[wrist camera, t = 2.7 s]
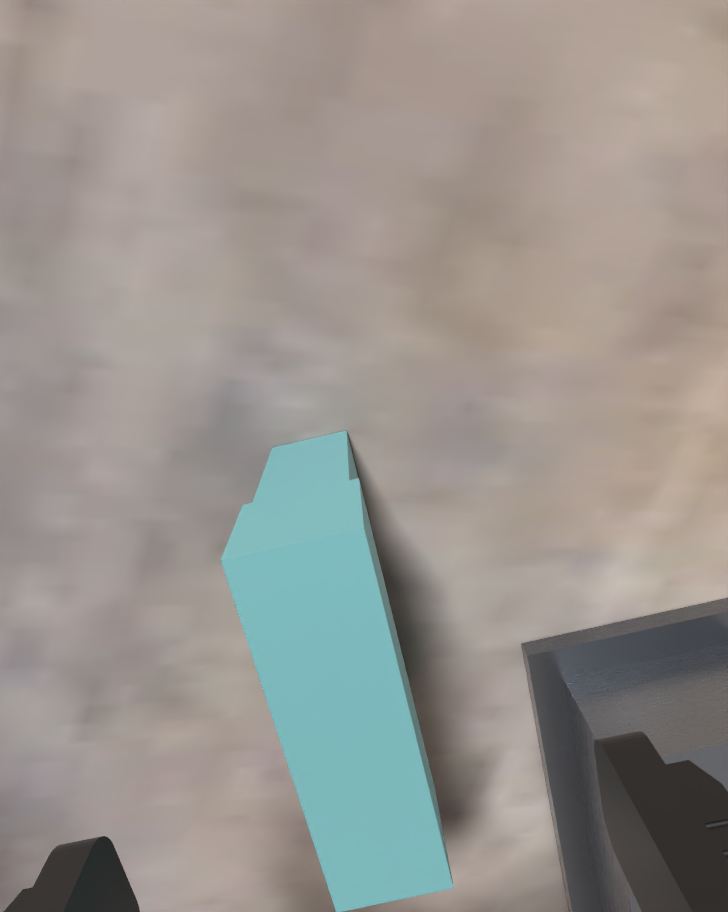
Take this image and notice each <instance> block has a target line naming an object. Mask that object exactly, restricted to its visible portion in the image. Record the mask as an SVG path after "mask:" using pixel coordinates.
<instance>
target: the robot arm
mask: <svg viewBox="0 0 728 912" xmlns="http://www.w3.org/2000/svg"><path fill="white" fill-rule="evenodd" d="M594 752H595V759H596V766H597V773H598V781H599V788H600V795H601V802H602V809H603V816H604V820H605V824H606V828H607V832H608V835H609V838H610V841H611V844H612V847H613V850H614V852H615V855H616V857H617V859H618V862H619V864H620V866H621V868H622V870H623V872H624V875H625V877H626V879H627V881H628V883H629V885H630V887H631V890H632V892H633V894H634V896H635V898H636V900H637V903H638V905H639V907H640V909H641V911H642V912H728V791H727V790H726V789H725V787H724V786H723V784H722V783H720V782H719V781H718V780H716V779H715V778H713V777H712V776H711V775H709V774H708V773H706V772H705V771H704V770H702V769H701V768H699V767H698V766H697V765H695V764H694V763H692V762H691V761H690V760H685V761H680V762H675V763H670V764H665V763H664V761H663V760H662V758H661V757H660V755H659V754H658V752H657V750H656V749H655V747H654V746H653V744H652V743H651V741H650V740H649V738H648V737H647V736H646V734H645V733H643V732H642V731H637V732H632V733H627V734H622V735H617V736H612V737H607V738H602V739H597V740H595V741H594ZM4 912H140V910H139V906H138V903H137V900H136V897H135V895H134V893H133V890H132V888H131V886H130V883H129V881H128V878H127V876H126V874H125V871H124V869H123V867H122V864H121V862H120V859H119V857H118V855H117V852H116V850H115V848H114V845H113V843H112V841H111V840H110V839H109V838H108V837H105V836H103V837H97V838H92V839H87V840H82V841H77V842H72V843H67V844H62V845H59V846H57V847H56V848H55V849H54V850H53V851H52V852H51V854H50V855H49V857H48V859H47V861H46V863H45V865H44V867H43V869H42V871H41V873H40V874H39V876H38V878H37V880H36V882H35V884H34V886H33V888H28V889H23V890H22V891H21V892H20V894H19V895H18V896H17V897H16V898H15V899H14V901H13V902H12V903H11V904H10V905H9V906H8V907H7V909H6V910H5V911H4Z"/></svg>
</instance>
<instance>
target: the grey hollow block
mask: <svg viewBox="0 0 728 912" xmlns="http://www.w3.org/2000/svg"><path fill="white" fill-rule="evenodd" d="M521 645H522V651H523V657H524V662H525V668H526V673H527V679H528V685H529V690H530V696H531V701H532V707H533V713H534V718H535V724H536V729H537V735H538V741H539V746H540V752H541V758H542V763H543V769H544V774H545V780H546V786H547V791H548V797H549V802H550V808H551V814H552V819H553V825H554V830H555V836H556V842H557V847H558V853H559V858H560V864H561V870H562V875H563V881H564V886H565V892H566V898H567V903H568V909H569V912H642V911H641V909H640V907H639V905H638V903H637V900H636V898H635V896H634V894H633V892H632V890H631V887H630V885H629V883H628V881H627V879H626V877H625V875H624V872H623V870H622V868H621V866H620V864H619V862H618V859H617V857H616V855H615V852H614V850H613V847H612V844H611V841H610V838H609V835H608V832H607V828H606V824H605V820H604V816H603V809H602V802H601V795H600V788H599V781H598V773H597V766H596V759H595V752H594V741H595V740H597V739H602V738H607V737H612V736H617V735H622V734H627V733H632V732H637V731H642V732H643V733H645V734H646V736H647V737H648V738H649V740H650V741H651V743H652V744H653V746H654V747H655V749H656V750H657V752H658V754H659V755H660V757H661V758H662V760H663V761H664V763H665V764H670V763H675V762H680V761H685V760H690V761H691V762H692V763H694V764H695V765H697V766H698V767H699V768H701V769H702V770H704V771H705V772H706V773H708V774H709V775H711V776H712V777H713V778H715V779H716V780H718V781H719V782H720V783H722V784H723V786H724V787H725V789H726V790H727V791H728V598H726V599H721V600H716V601H712V602H707V603H703V604H698V605H694V606H689V607H685V608H680V609H676V610H671V611H667V612H662V613H658V614H653V615H649V616H644V617H640V618H635V619H631V620H626V621H622V622H617V623H613V624H608V625H604V626H599V627H595V628H590V629H586V630H581V631H577V632H572V633H568V634H563V635H559V636H554V637H549V638H545V639H540V640H536V641H531V642H527V643H522V644H521Z"/></svg>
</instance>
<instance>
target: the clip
mask: <svg viewBox="0 0 728 912" xmlns="http://www.w3.org/2000/svg"><path fill="white" fill-rule="evenodd" d="M221 563H222V566H223V569H224V572H225V575H226V578H227V581H228V584H229V587H230V590H231V593H232V596H233V599H234V602H235V605H236V608H237V611H238V614H239V617H240V621H241V624H242V627H243V630H244V633H245V636H246V639H247V642H248V645H249V648H250V651H251V654H252V657H253V660H254V663H255V666H256V669H257V672H258V675H259V678H260V682H261V685H262V688H263V691H264V694H265V697H266V700H267V703H268V706H269V709H270V712H271V715H272V718H273V721H274V724H275V727H276V730H277V733H278V736H279V739H280V743H281V746H282V749H283V752H284V755H285V758H286V761H287V764H288V767H289V770H290V773H291V776H292V779H293V782H294V785H295V788H296V791H297V794H298V797H299V800H300V804H301V807H302V810H303V813H304V816H305V819H306V822H307V825H308V828H309V831H310V834H311V837H312V840H313V843H314V846H315V849H316V852H317V855H318V858H319V861H320V865H321V868H322V871H323V874H324V877H325V880H326V883H327V886H328V889H329V892H330V895H331V898H332V901H333V904H334V907H335V910H336V912H343V911H348V910H353V909H357V908H362V907H367V906H372V905H376V904H381V903H386V902H391V901H395V900H400V899H405V898H409V897H414V896H419V895H424V894H428V893H433V892H438V891H443V890H447V889H452V888H453V882H452V877H451V872H450V866H449V861H448V855H447V850H446V845H445V839H444V834H443V829H442V823H441V818H440V813H439V807H438V802H437V796H436V791H435V786H434V782H433V778H432V774H431V770H430V766H429V762H428V758H427V754H426V750H425V746H424V741H423V737H422V733H421V729H420V725H419V721H418V717H417V713H416V709H415V705H414V701H413V697H412V692H411V688H410V684H409V680H408V676H407V672H406V668H405V664H404V660H403V656H402V652H401V648H400V643H399V639H398V635H397V631H396V627H395V623H394V619H393V615H392V611H391V607H390V603H389V599H388V594H387V590H386V586H385V582H384V578H383V574H382V570H381V566H380V562H379V558H378V554H377V550H376V546H375V541H374V537H373V533H372V529H371V525H370V521H369V517H368V513H367V509H366V505H365V501H364V497H363V492H362V488H361V484H360V480H359V478H358V475H357V471H356V467H355V463H354V459H353V455H352V451H351V446H350V442H349V438H348V434H347V430H346V431H342V432H338V433H333V434H329V435H325V436H320V437H316V438H312V439H308V440H303V441H299V442H295V443H290V444H286V445H282V446H277V447H273V448H272V450H271V453H270V456H269V458H268V461H267V464H266V467H265V469H264V472H263V475H262V478H261V480H260V483H259V486H258V489H257V491H256V494H255V497H254V500H253V503H248V504H244V505H243V506H242V508H241V511H240V513H239V516H238V518H237V521H236V523H235V526H234V528H233V531H232V533H231V536H230V538H229V541H228V543H227V546H226V548H225V551H224V553H223V556H222V558H221Z"/></svg>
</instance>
